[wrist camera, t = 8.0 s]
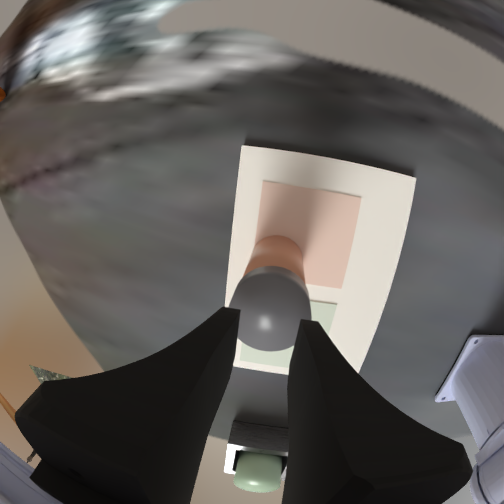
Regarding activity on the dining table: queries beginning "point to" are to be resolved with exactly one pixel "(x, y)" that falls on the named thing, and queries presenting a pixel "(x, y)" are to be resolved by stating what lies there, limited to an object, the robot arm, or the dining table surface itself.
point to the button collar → (256, 443)
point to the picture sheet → (322, 240)
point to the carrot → (2, 94)
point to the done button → (258, 471)
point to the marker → (272, 295)
